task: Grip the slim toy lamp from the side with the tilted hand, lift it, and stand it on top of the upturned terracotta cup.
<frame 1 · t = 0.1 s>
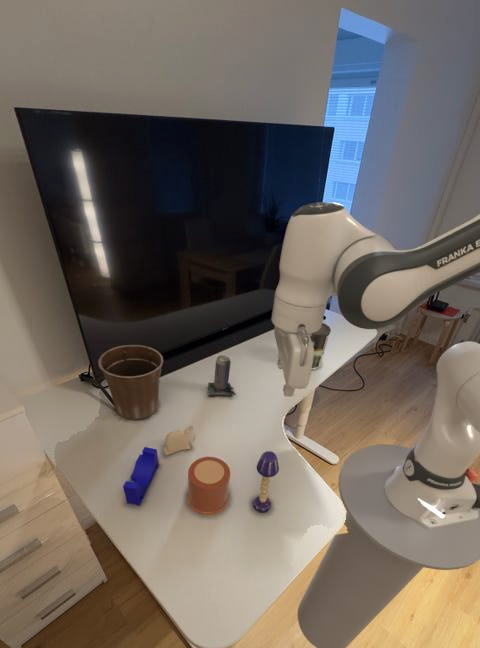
hand: (284, 380, 68), 28 cm above the table, tool pointing down, fingers open, 8 cm apart
coffee can: (307, 362, 128), on the table
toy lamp: (260, 505, 79), on the table
decorative ornament: (178, 447, 90), on the table
plant pot: (138, 407, 101), on the table
post on square base: (219, 392, 110), on the table
blue notched block: (140, 483, 81), on the table
cup: (208, 497, 79), on the table
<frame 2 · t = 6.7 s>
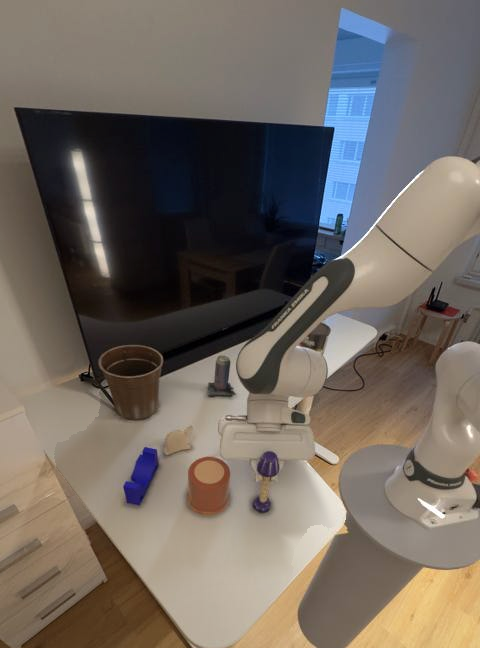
hand: (266, 481, 72), 9 cm above the table, tool tilted 45°, fingers closed on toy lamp
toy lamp: (260, 505, 79), on the table, touching gripper
everything else where it was.
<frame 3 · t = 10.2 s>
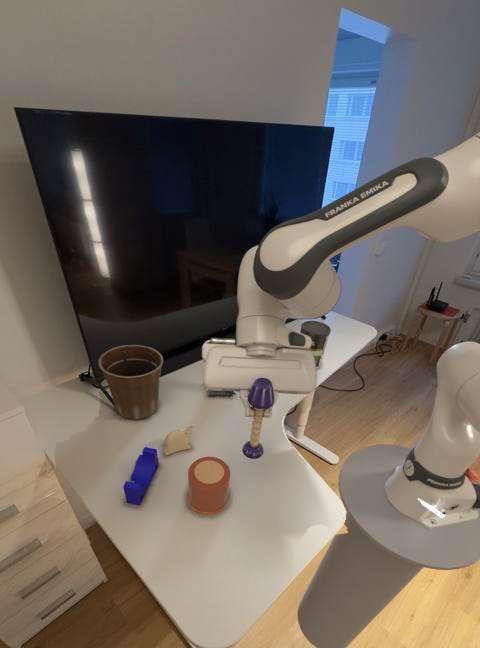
hand: (258, 417, 61), 27 cm above the table, tool tilted 45°, fingers closed on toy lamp
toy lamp: (250, 451, 68), point 17 cm above the table, touching gripper
everything else where it was.
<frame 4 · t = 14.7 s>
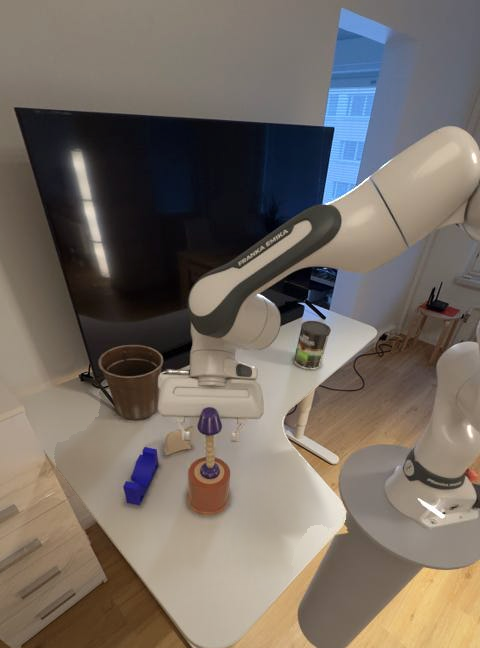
hand: (210, 441, 66), 19 cm above the table, tool tilted 45°, fingers open, 8 cm apart
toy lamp: (208, 471, 73), point 9 cm above the table, touching cup
everything else where it was.
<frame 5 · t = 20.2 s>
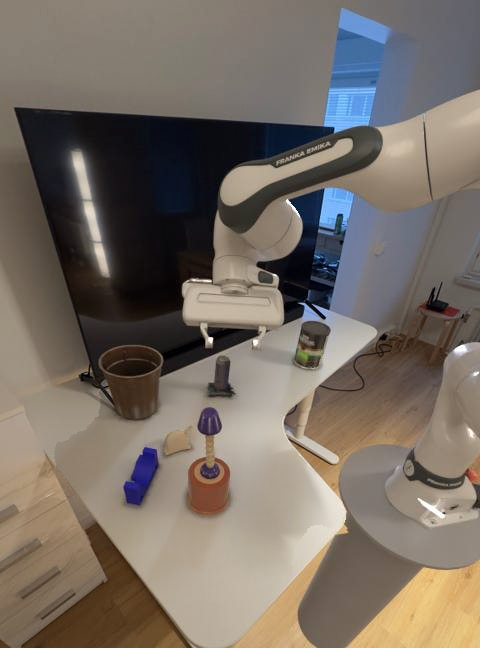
hand: (232, 348, 69), 31 cm above the table, tool tilted 45°, fingers open, 8 cm apart
nothing on the table moved.
at the end: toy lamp 0.2 cm off-centre on the cup, point 9.0 cm above the cup's base; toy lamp tilted 0°; the gripper is holding nothing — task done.
